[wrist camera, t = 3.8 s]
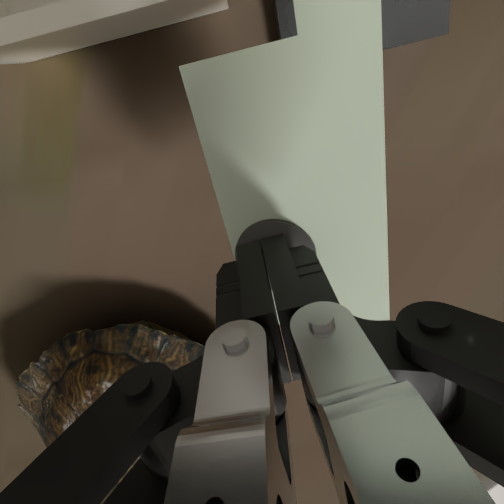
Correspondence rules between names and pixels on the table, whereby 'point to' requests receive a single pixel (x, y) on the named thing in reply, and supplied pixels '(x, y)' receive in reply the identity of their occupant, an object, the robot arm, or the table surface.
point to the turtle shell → (93, 371)
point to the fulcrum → (386, 20)
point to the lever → (304, 144)
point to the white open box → (85, 23)
